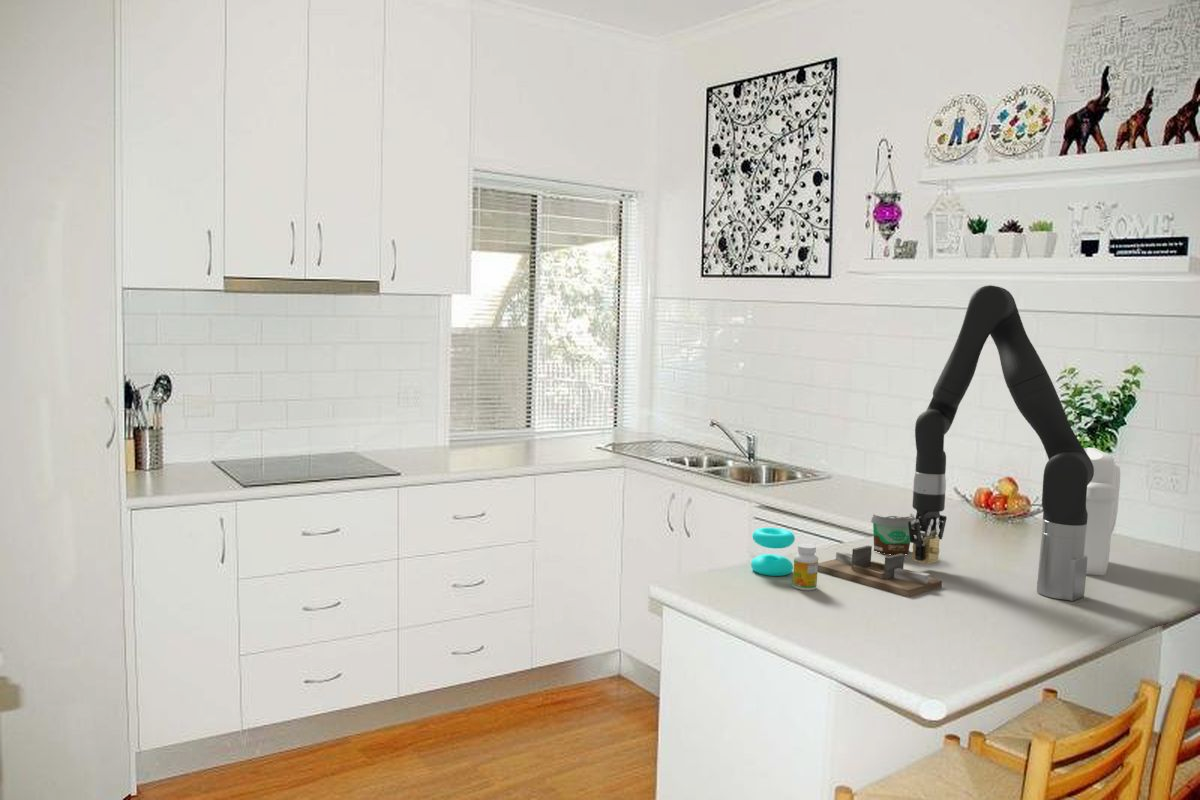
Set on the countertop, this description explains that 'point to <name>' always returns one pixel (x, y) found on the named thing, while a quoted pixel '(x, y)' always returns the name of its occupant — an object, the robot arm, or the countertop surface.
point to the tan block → (929, 550)
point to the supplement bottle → (805, 568)
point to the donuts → (770, 562)
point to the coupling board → (879, 572)
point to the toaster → (1101, 510)
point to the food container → (891, 534)
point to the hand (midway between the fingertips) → (925, 558)
